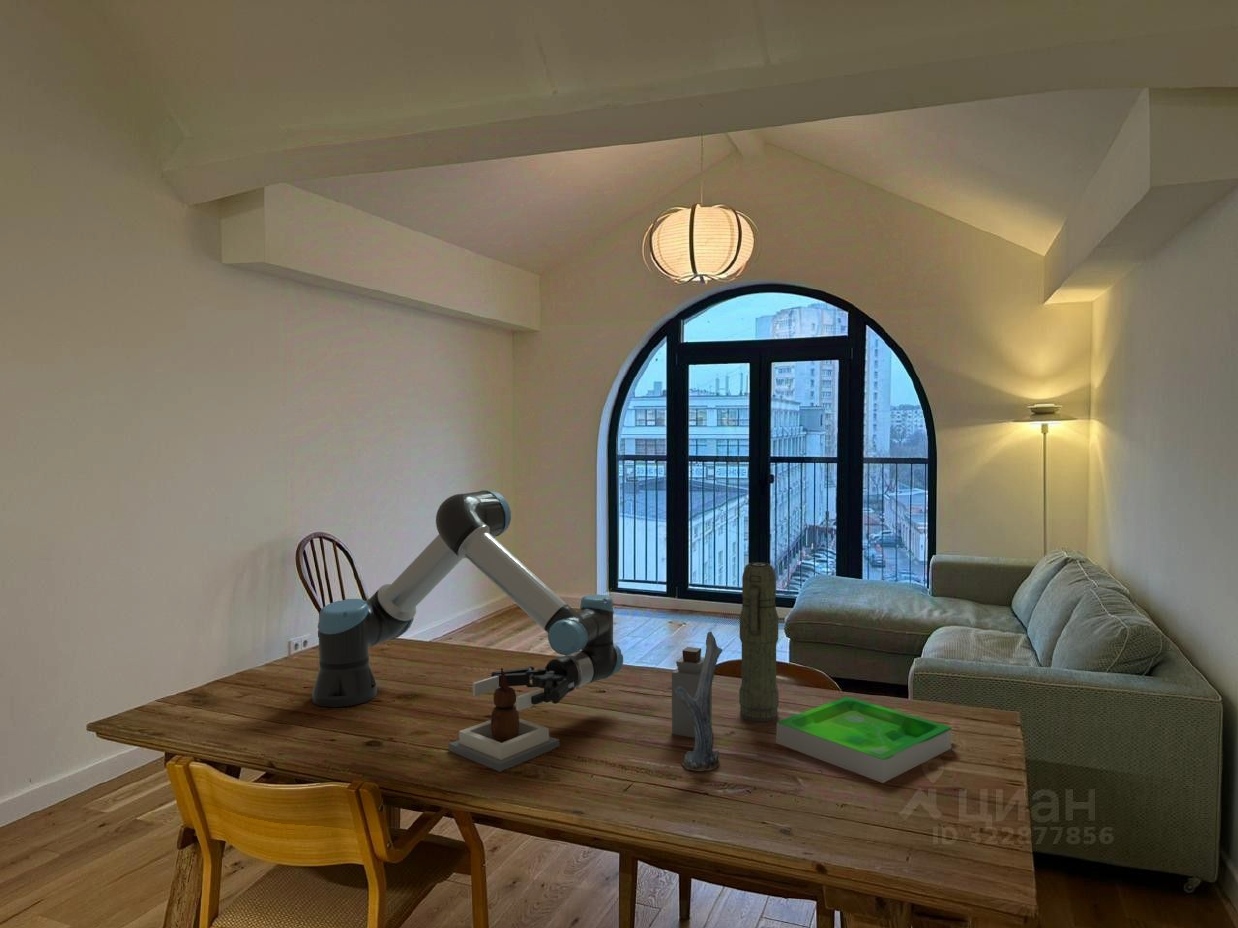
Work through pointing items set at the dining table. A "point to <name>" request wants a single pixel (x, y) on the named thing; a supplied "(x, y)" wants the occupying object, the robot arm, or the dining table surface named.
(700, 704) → the antler
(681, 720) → the perfume bottle
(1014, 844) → the dining table surface
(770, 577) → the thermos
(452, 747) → the socket plinth
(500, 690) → the wooden figurine
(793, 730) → the tray
